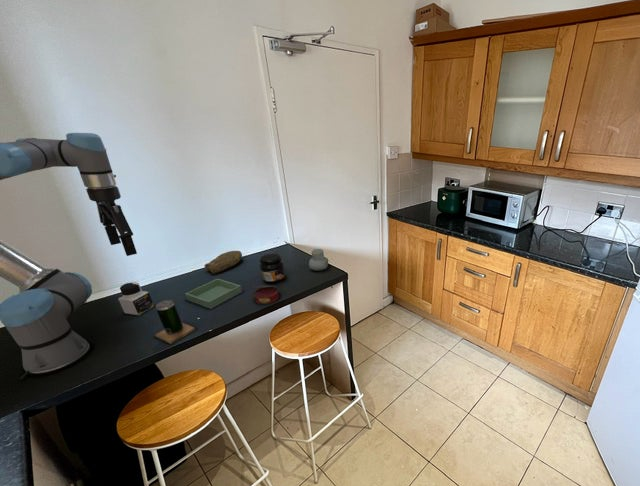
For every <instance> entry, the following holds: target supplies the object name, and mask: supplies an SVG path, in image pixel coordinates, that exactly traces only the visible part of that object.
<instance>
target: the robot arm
mask: <svg viewBox="0 0 640 486" xmlns="http://www.w3.org/2000/svg"><path fill="white" fill-rule="evenodd" d="M65 138H66V139H53V138H52V139H51V138H37V137H26V138H17V139H15V141H8V142H0V181H3V180H6V179H10V178H13V177H17V176H20V175H23V174H27V173H32V172H35V171H41V170H45V169H49V168H55V167H57V168H59V167H60V168H61V167H67V168H68V167H71V168H75V167H77V170H78V172H79V175H80V179H81V180H82V183H83V186H84V187H86V189H85V191H86V194H87V196H88V199H89V200H90V201H92V202H95V204H96V209H97V213H98V217H99V222H100V224H102V226H103V227H104V230H105V232H106V235H107V238H108V241H109V243H110V246H114V245H119V244H122V247H123V250H124V253H125V255H126V257H129V256H133V255H137V254H138V252H137V249H136V246H135V243H134V240H133V237H132V236H134V233H133V230H132V228H131V226H130V225H129V223H128V220H127V219H126V216H125V214H124V212H123V209H122V206H121V205H120V204H116V202H115V201H117V200H119V199H121V197H122V196H121V192H120V190H119V187H118V186H116V185H117V181H116V178H117V175H116V174H114V172H113V168H112V166H111V162H110V159H109V156H108V153H107V148H106V147H105V145H104V141H103V140H102V137H101V136H100V135H99V134H97V133H93V132H68V133H66V134H65ZM0 278H2V279H4V280H6V281H7V282H9V283H11V284H12V285H15V286H16V287H18V288H19V289H18V290H19V292H18V293H17V294H13V295H11V296H9V297H7V298H6V299H4V300H3V301H2V302H0V322H1V324H2V325H3V326H4V327H5V328H6V330H7V331H8V333H9V334H10V335H11V337H12V338H13V340H14V341H15V342H16V345H18V347H19V348H20V350H21V359H22V361H21V362H22V367H23V370H24V371H25V372H24V373H23V374H22V375H21V376H20V378H19V380H24V379H25V378H26V377H27V375H29V376H44V375H49V374H53V373H56V372H59V371H61V370H64V369H66V368H68V367H71V366H73V365H74V364H76V363H78V362H80V360H82V359H83V358H85V357H86V356H87V355H88V354H89V352H90V351H91V345H90V343H89V342H88V341H87V340H86V339H85V338H83V337H82V336H81V335H80V334H79V333H77V332H75V331H74V330H73V329H72V327H71V325H70V324H69V322H68V320H67V319H68V318H69V317H70V316H71V315H72V314H73V313H74V312H76V311H77V309H80V307H81V306H83V305H84V304H86V303H87V301H88V300H89V299H90V297H91V296H92V294H93V289H92V288H93V286H92V283H91V282H90V281H89V279H88V278H86V277H85V276H84V275H82V274H80V273H79V272H78V273H77V272H70V271H65V272H64V271H62V270H60V269H59V268H57V267H46V266H44V265H43V264H41V263H39V262H38V261H36V260H34V259H33V258H31V257H29V256H28V255H26V254H24V253H23V252H21V250H18V249H17V248H15V247H13V246H12V245H10V244H9V243H7V242H5V241H3V240H2V239H0Z"/></svg>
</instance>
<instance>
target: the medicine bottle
mask: <svg viewBox="0 0 640 486" xmlns="http://www.w3.org/2000/svg"><path fill="white" fill-rule="evenodd" d="M119 290H120V292H121V294H122V296H120V297H119V298H117V300H118V302H119V305H120V307H121V309H122V311H123V313H124V314H127V315H133V316H134V315H135V316H141V315H142V314H143V313H146V312H147V311H149V310H150V309H152V308H153V307H155V304H154V302H153V299H152V297H151V295H150V292H149V291H146V290H145V291H144V290H143V289H142V287H141V284H140V283H139V282H137V281H129V282H126V283H124V284H122V285H121V286H120V287H119Z"/></svg>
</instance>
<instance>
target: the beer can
mask: <svg viewBox="0 0 640 486" xmlns="http://www.w3.org/2000/svg"><path fill="white" fill-rule="evenodd" d="M155 310H156V313H157V315H158V318H159V320H160V322H161V324H162V327H163V330H165V332H166V334H168V335H176V334H178V333H180V332H181V331H182V330H183V325H182V323H183V322H182V320H181V318H180V315H179V312H178V309H177V306H176V304H175V302H174V301H173V300H172V299H165V300H161V301H160V302H157V303H156V304H155Z"/></svg>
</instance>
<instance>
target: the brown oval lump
mask: <svg viewBox="0 0 640 486" xmlns="http://www.w3.org/2000/svg"><path fill="white" fill-rule="evenodd" d="M242 258H243V253H242V251H240V250H229V251H226V252H224V253H220V254H219V255H218V256H216V258H214V259H212V260H210V261H209V262H207V263H205V264H204V268H205V269H206V271H209V272H211V273H212V275H214V274H218V273H220V272H223V271H224V270H226V269H229V268H232V267H233V266H235V265H237V263H240V261H241V259H242Z"/></svg>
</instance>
